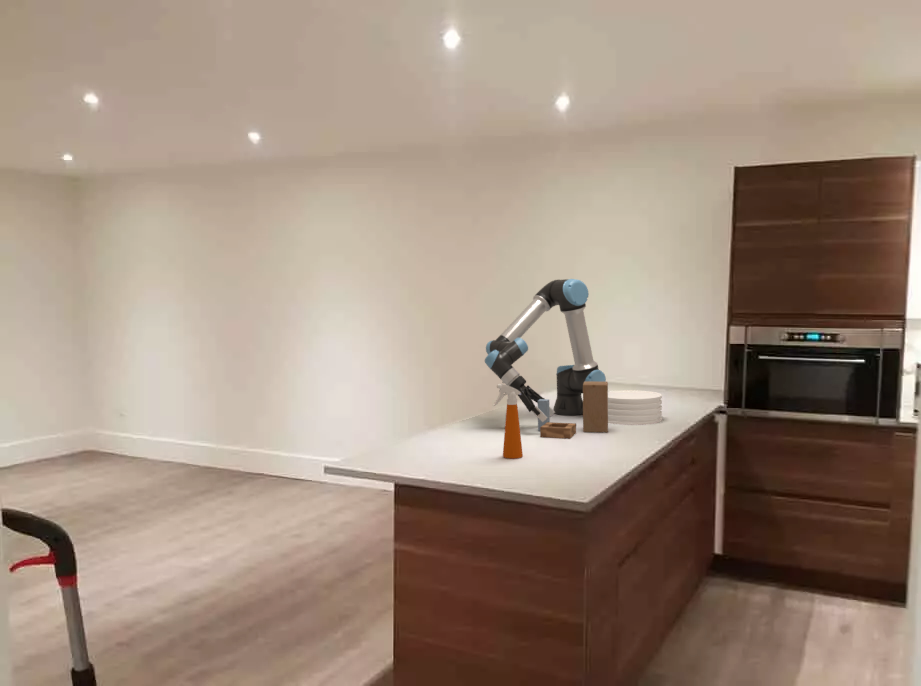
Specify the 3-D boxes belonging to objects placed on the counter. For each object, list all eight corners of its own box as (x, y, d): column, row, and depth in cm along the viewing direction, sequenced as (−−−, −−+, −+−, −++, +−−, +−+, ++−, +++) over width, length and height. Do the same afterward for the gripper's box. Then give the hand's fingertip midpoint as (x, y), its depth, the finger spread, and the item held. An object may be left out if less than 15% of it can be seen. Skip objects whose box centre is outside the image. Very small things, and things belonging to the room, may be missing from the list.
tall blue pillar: (540, 429, 317) (540, 399, 316) (549, 429, 316) (549, 399, 315) (538, 431, 313) (537, 400, 312) (547, 431, 312) (547, 400, 311)
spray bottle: (490, 456, 267) (488, 383, 266) (517, 453, 271) (516, 381, 269) (498, 460, 261) (496, 385, 259) (526, 457, 265) (525, 383, 263)
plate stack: (674, 421, 330) (674, 396, 329) (620, 427, 320) (620, 400, 319) (637, 412, 356) (637, 388, 355) (586, 417, 346) (586, 392, 345)
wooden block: (607, 432, 307) (607, 384, 306) (583, 432, 309) (582, 384, 308) (608, 428, 317) (607, 381, 316) (584, 427, 319) (583, 381, 318)
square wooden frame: (547, 431, 312) (547, 422, 312) (576, 433, 308) (576, 423, 307) (540, 437, 301) (540, 427, 300) (569, 438, 297) (569, 428, 296)
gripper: (516, 383, 330) (550, 418, 326) (499, 390, 307) (535, 428, 303) (527, 371, 328) (561, 406, 324) (511, 378, 305) (548, 416, 301)
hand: (549, 417), depth 313 cm, fingers open, 13 cm apart
